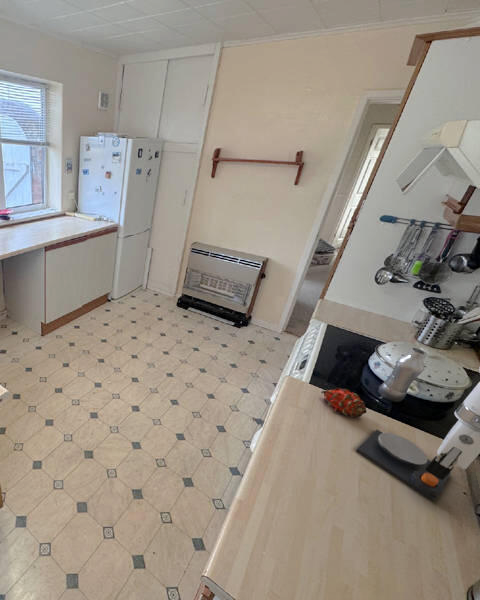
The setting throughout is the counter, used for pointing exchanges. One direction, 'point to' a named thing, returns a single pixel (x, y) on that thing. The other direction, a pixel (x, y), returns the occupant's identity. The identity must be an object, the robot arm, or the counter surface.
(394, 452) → the scale pan
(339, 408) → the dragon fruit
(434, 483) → the tare button
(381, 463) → the scale
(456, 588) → the counter surface
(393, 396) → the plastic bottle
